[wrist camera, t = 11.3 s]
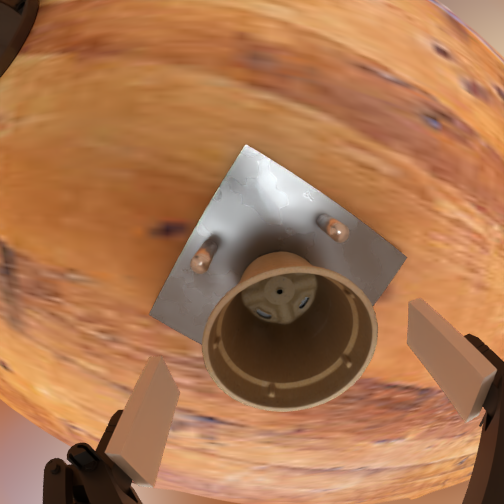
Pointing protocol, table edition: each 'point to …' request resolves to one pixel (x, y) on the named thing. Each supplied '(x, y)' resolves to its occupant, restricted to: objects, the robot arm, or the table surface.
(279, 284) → the flower pot
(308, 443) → the table surface
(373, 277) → the plate
